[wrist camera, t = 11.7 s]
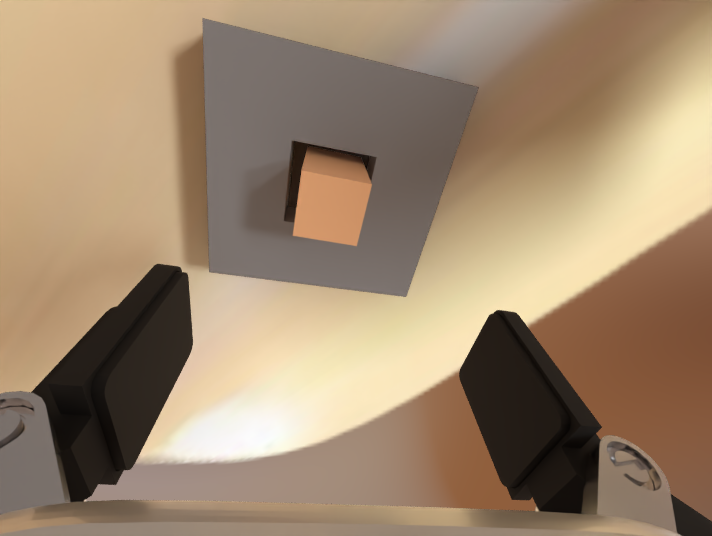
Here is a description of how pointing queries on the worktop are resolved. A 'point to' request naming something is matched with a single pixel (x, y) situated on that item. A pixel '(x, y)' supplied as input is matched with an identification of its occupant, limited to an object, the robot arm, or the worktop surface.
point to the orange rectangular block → (331, 197)
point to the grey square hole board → (328, 129)
